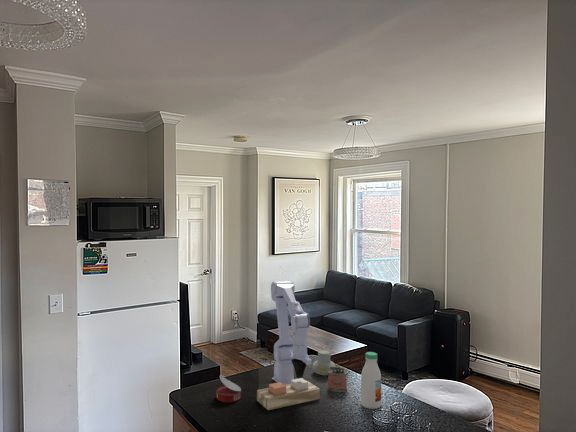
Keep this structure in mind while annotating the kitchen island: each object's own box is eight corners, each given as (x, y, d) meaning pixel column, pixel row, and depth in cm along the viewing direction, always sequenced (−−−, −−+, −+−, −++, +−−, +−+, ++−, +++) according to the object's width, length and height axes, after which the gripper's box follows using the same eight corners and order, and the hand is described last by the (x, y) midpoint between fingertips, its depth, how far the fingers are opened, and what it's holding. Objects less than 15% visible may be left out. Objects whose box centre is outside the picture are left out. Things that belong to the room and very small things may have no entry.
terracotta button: (268, 391, 166) (268, 384, 166) (280, 389, 169) (280, 382, 169) (274, 396, 162) (274, 388, 162) (286, 394, 164) (286, 386, 164)
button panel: (256, 400, 166) (256, 390, 166) (306, 389, 178) (306, 380, 178) (267, 410, 158) (268, 399, 158) (319, 398, 169) (319, 388, 169)
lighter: (346, 389, 179) (347, 365, 179) (347, 392, 176) (347, 368, 176) (327, 388, 180) (327, 364, 180) (327, 391, 177) (327, 367, 177)
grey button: (290, 387, 171) (291, 379, 171) (301, 385, 174) (301, 377, 174) (297, 391, 167) (297, 384, 167) (307, 389, 169) (308, 382, 169)
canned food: (224, 404, 174) (229, 378, 178) (244, 406, 169) (249, 380, 174) (207, 399, 165) (213, 373, 170) (228, 402, 160) (233, 374, 165)
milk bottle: (369, 411, 158) (369, 357, 159) (356, 403, 165) (357, 351, 166) (385, 407, 162) (385, 354, 162) (372, 399, 169) (372, 349, 169)
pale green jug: (336, 371, 200) (336, 350, 200) (334, 377, 192) (334, 355, 192) (313, 369, 203) (314, 348, 203) (310, 375, 195) (311, 353, 195)
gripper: (282, 340, 175) (282, 373, 175) (300, 349, 162) (300, 385, 162) (297, 338, 178) (297, 370, 178) (316, 347, 166) (315, 382, 165)
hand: (299, 377), depth 170 cm, fingers closed
